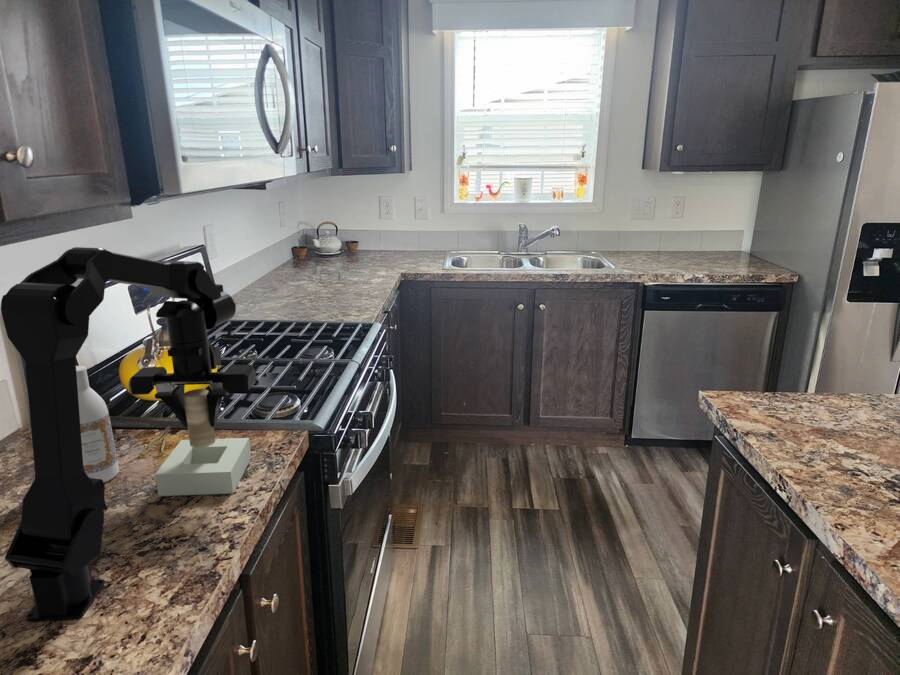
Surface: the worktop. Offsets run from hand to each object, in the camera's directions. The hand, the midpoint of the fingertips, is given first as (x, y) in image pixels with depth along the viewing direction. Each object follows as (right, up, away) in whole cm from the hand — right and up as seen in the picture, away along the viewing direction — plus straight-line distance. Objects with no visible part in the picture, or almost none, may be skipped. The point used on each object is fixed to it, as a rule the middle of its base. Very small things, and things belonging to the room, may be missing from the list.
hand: (200, 426), depth 102 cm
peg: (0, -3, +1) cm, 3 cm away
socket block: (0, -9, +3) cm, 9 cm away
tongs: (-14, -6, +15) cm, 22 cm away
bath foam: (-19, -9, +3) cm, 21 cm away
